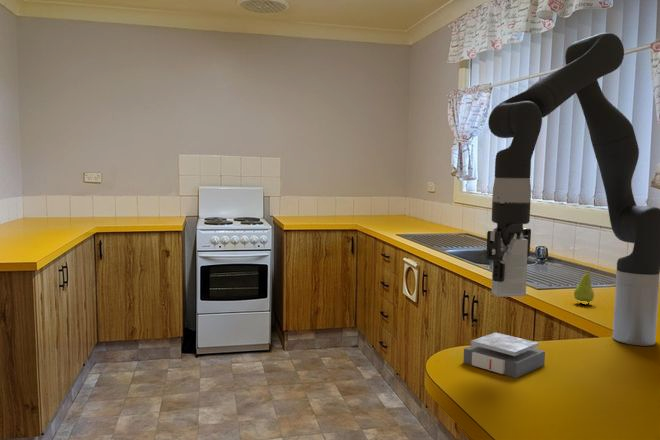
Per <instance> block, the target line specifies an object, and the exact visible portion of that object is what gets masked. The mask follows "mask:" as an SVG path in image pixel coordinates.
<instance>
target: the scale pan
mask: <svg viewBox="0 0 660 440" xmlns="http://www.w3.org/2000/svg"><path fill="white" fill-rule="evenodd" d="M470 345H471V346H473V345H475V346H479V347H483V348H486V349H490V350H494V351H498V352H501V353H505V354H509V355H512V356H516V355H519V354H521V353H524V352H526V351H529V350H531V349H534V348H535V349H537V348H539V342H537V341H533V340H530V339H529V340H528V339H524V338H521V337H516V336H512V335H508V334H503V333H501V332H497V331H495V332H493V333H489V334H487V335H484V336H480V337H478V338H474V339H472V340H470Z"/></svg>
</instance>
